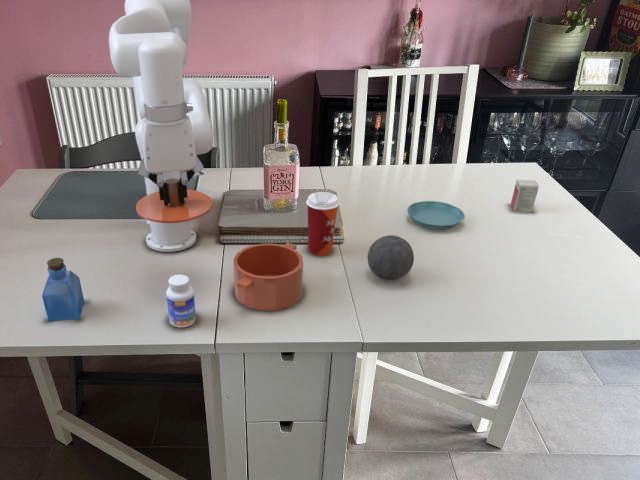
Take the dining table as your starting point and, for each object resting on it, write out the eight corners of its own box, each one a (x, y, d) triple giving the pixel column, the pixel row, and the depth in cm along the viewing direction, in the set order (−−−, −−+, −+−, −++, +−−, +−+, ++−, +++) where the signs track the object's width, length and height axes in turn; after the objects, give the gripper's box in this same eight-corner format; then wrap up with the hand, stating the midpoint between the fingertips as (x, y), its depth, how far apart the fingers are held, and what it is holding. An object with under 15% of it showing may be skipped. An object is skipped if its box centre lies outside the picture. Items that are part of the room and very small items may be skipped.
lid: (120, 214, 116) (116, 186, 112) (170, 188, 126) (167, 161, 123) (180, 233, 108) (177, 203, 105) (227, 204, 119) (226, 176, 116)
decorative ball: (402, 293, 123) (409, 253, 117) (359, 281, 127) (363, 242, 122) (416, 272, 130) (422, 233, 125) (374, 262, 134) (378, 224, 129)
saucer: (401, 228, 149) (402, 219, 147) (410, 206, 160) (412, 197, 159) (460, 238, 144) (462, 228, 142) (465, 214, 155) (467, 205, 154)
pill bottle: (176, 331, 112) (171, 290, 107) (165, 318, 116) (160, 277, 111) (200, 322, 115) (197, 282, 109) (188, 309, 118) (185, 269, 113)
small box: (528, 206, 159) (535, 180, 155) (532, 213, 156) (539, 186, 151) (509, 205, 160) (516, 179, 156) (512, 211, 156) (519, 185, 152)
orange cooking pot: (214, 303, 120) (212, 271, 116) (264, 263, 134) (264, 232, 130) (272, 325, 114) (272, 292, 109) (319, 280, 128) (321, 249, 123)
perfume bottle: (54, 303, 121) (42, 254, 114) (84, 302, 121) (74, 253, 115) (48, 321, 116) (35, 270, 109) (79, 319, 116) (68, 268, 110)
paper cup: (334, 259, 135) (338, 205, 128) (302, 256, 137) (304, 202, 129) (337, 244, 142) (340, 191, 134) (306, 241, 143) (308, 189, 136)
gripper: (205, 103, 111) (210, 191, 121) (121, 109, 108) (133, 198, 118) (211, 114, 105) (216, 205, 115) (121, 120, 102) (134, 213, 112)
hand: (174, 201), depth 116 cm, fingers closed on lid, 2 cm apart
